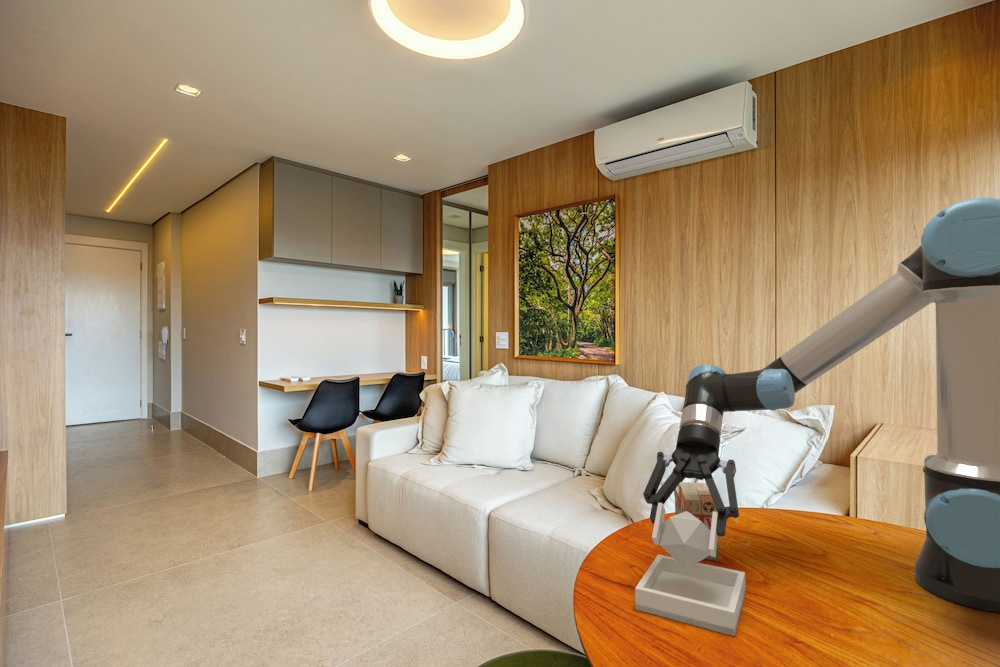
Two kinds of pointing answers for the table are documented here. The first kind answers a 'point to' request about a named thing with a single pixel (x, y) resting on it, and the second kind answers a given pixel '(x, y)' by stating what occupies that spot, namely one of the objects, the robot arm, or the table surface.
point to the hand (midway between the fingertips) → (683, 547)
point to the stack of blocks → (696, 503)
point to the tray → (692, 594)
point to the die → (685, 538)
